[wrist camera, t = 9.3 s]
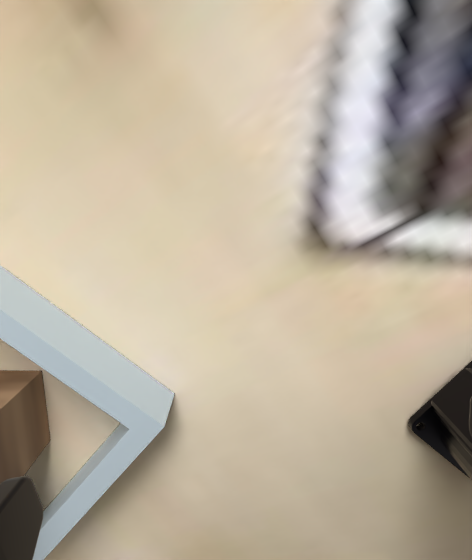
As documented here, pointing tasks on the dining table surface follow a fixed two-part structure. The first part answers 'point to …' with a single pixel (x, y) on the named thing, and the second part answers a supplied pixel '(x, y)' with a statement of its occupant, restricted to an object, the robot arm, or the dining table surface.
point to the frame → (91, 385)
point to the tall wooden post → (21, 421)
